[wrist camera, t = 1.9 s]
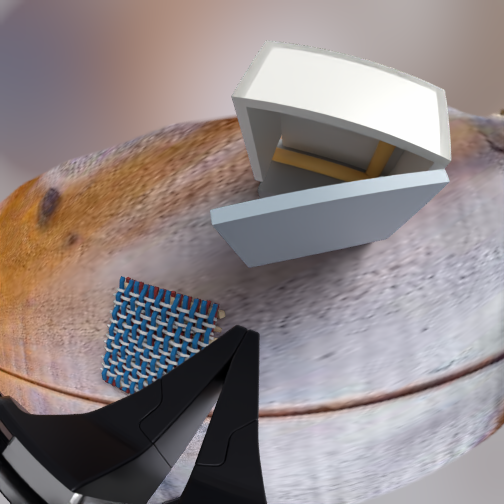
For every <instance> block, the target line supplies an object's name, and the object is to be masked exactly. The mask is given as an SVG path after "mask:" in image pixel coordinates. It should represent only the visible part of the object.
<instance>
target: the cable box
mask: <svg viewBox="0 0 504 504" xmlns="http://www.w3.org/2000/svg"><path fill="white" fill-rule="evenodd" d="M232 100H233V103H234V107H235V110H236V114H237V117H238V121H239V124H240V128H241V131H242V135H243V138H244V142H245V146H246V149H247V153H248V156H249V160H250V164H251V167H252V171H253V175H254V178H255V180H257V181H261V182H260V185H259V187H258V193H259V197H260V199H261V198H266V197H271V196H276V195H281V194H286V193H291V192H296V191H301V190H307V189H312V188H318V187H323V186H329V185H335V184H340V183H346V182H353V181H359V180H365V179H372V178H378V177H385V176H392V175H400V174H407V173H415V172H423V171H432V170H441V169H444V168H445V167H446V166H447V165H448V164H449V163H450V162H451V143H450V129H449V118H448V109H447V101H446V95H445V90H443V89H441V88H439V87H437V86H435V85H433V84H431V83H428V82H426V81H424V80H421V79H419V78H417V77H414V76H412V75H409V74H407V73H404V72H401V71H399V70H396V69H393V68H390V67H388V66H385V65H382V64H378V63H375V62H372V61H369V60H365V59H362V58H358V57H355V56H351V55H347V54H343V53H339V52H335V51H330V50H326V49H321V48H315V47H310V46H305V45H298V44H291V43H284V42H276V41H266V42H265V43H264V45H263V46H262V48H261V50H260V51H259V52H258V54H257V56H256V57H255V59H254V60H253V62H252V63H251V65H250V66H249V68H248V70H247V71H246V73H245V74H244V76H243V78H242V79H241V81H240V83H239V84H238V86H237V88H236V89H235V91H234V93H233V94H232ZM281 135H282V139H280V137H281Z"/></svg>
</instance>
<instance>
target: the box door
mask: <svg viewBox="0 0 504 504" xmlns="http://www.w3.org/2000/svg"><path fill="white" fill-rule="evenodd" d="M449 182H450V181H449V178H448V176H447V174H446V171H445V169H441V170H432V171H423V172H415V173H407V174H400V175H392V176H385V177H378V178H372V179H365V180H359V181H353V182H346V183H340V184H335V185H329V186H323V187H318V188H312V189H307V190H301V191H296V192H291V193H286V194H281V195H276V196H271V197H266V198H261V199H257V200H252V201H247V202H243V203H238V204H234V205H229V206H225V207H221V208H216V209H212V210H210V213H211V221H212V226H213V227H214V228H215V229H216V230H217V231H218V233H219V234H220V235H221V236H222V237H223V238H224V240H225V241H226V242H227V243H228V244H229V245H230V247H231V248H232V249H233V250H234V251H235V252H236V254H237V255H238V256H239V257H240V258H241V259H242V260H243V262H244V263H245V264H246V265H247V266H248V267H249V268H250V267H255V266H260V265H265V264H270V263H275V262H280V261H285V260H290V259H295V258H300V257H305V256H309V255H314V254H319V253H324V252H329V251H333V250H338V249H343V248H347V247H352V246H357V245H361V244H366V243H371V242H375V241H380V240H384V239H387V238H388V237H390V236H391V235H392V234H393V233H394V232H395V231H397V230H398V229H399V228H400V227H401V226H402V225H403V224H405V223H406V222H407V221H408V220H409V219H410V218H411V217H412V216H414V215H415V214H416V213H417V212H418V211H419V210H420V209H421V208H422V207H424V206H425V205H426V204H427V203H428V202H429V201H430V200H431V199H432V198H433V197H434V196H435V195H436V194H437V193H438V192H440V191H441V190H442V189H443V188H444V187H445V186H446V185H447V184H448V183H449Z"/></svg>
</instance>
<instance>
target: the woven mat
mask: <svg viewBox="0 0 504 504" xmlns="http://www.w3.org/2000/svg"><path fill="white" fill-rule="evenodd" d="M124 281H125V277H122V276H121V278H120V286H119V288H118V287H117V289H116V290H117V291H118V292H117V294H115V293H114V295H113V296H116V300H114V301H113V303H115V304H114V307H115V308H114V310H113V311H112V310H110V313H112V317H113V319H112V318H110V321H111V322H112V323H111V325H109V324H108V325H107V327H110V328H109V335H108V334H106V336H107V337H108V340H104V342H105V343H106V344H107V347H105V346H104V349H105V350H106V351H107V352H106V354H105V356H101V358H104V362H105V364H104V363H103V362H102V363H101V364H102V365H103V366H104V368H100V370H103V371H102V378H103V380H105V382H107V383H110V384H112V385H113V386H116V387H118V388H119V389H121V390H123V391H125V392H126V393H130V394H133V393H135V392H137V391H139V390H141V389H142V388H144V387H146V386H148V385H149V384H151V383H152V382H154V381H155V380H156V378H157V379H159V378H161V377H162V376H163V375H165V374H166V370H167V373H168V372H169V371H171V370H172V369H174V368H175V367H177V365H180V364H181V363H183V362H184V361H186V360H187V359H189V358H190V357H192V356H193V355H195V354H196V353H197V352H199V351H200V350H202V349H203V348H205V347H206V346H208V345H209V344H210V343H212V342H213V341H215V340H216V339H217V338H214V337H213V336H214V333H213V331H215V332H221V331H222V328H220V327H217V326H216V325H215V322H217V318H219V319H221V318H224V317H226V316H225V312H224V311H222V310H218V308H219V304H217V303H214V304H213V306H212V308H210V307H209V306H210V303H211V301H208V300H207V301H204V300H202V304H201V299H198V298H197V299H196V298H195V299H194V302H191V301H192V297H190V296H186V295H184V298H183V295H182V294H179V293H177V294H176V292H175V291H168V290H165V289H160V290H159V287H156V286H155V287H154V286H151V285H148V284H144V283H143V282H138V281H136V280H133V279H132V280H131V278H129V277H127V278H126V282H124ZM143 285H144V287H143ZM158 291H159V293H158ZM170 295H171V296H170ZM136 299H137V300H136ZM182 299H183V300H182ZM164 302H165V303H164ZM200 304H201V305H200ZM180 307H182V308H180ZM130 309H131V310H130ZM179 311H181V312H180V314H179ZM198 312H200V314H199V313H198ZM207 314H208V315H209V316H207ZM197 316H198V317H199V318H198V319H197ZM216 317H217V318H216ZM156 318H157V319H156ZM169 318H170V319H169ZM206 319H208V323H207V322H206ZM124 320H125V321H124ZM177 321H178V322H177ZM150 325H151V326H150ZM176 325H178V326H176ZM195 326H197V328H196V327H195ZM149 329H150V330H149ZM204 329H206V330H204ZM166 330H167V331H166ZM165 334H167V335H165ZM184 336H185V337H184ZM182 339H183V340H184V342H183V341H182ZM155 340H156V341H155ZM191 342H192V344H191ZM200 345H201V346H203V347H202V348H201V347H200ZM180 348H181V350H182V353H181V352H180ZM189 351H191V354H190V355H188V352H189ZM153 353H154V354H153ZM161 354H162V355H161ZM169 357H170V360H169ZM177 361H178V362H177Z"/></svg>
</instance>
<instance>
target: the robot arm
mask: <svg viewBox="0 0 504 504" xmlns="http://www.w3.org/2000/svg"><path fill="white" fill-rule="evenodd" d="M259 340H260V335H259V333H258V332H256V331H253V330H248V329H247V328H245V327H242V326H239V325H236V326H234V327H233V328H231V329H230V330H229V331H227V332H226V333H224V334H223V335H222V336H220V337H219V338H217V339H216V340H215V341H213V342H212V343H210V344H209V345H208V346H206V347H205V348H203V349H202V350H200V351H199V352H197V353H196V354H195V355H193V356H192V357H190V358H189V359H187V360H186V361H184V362H183V363H181V364H180V365H178V366H177V367H175V368H174V369H172V370H171V371H169V372H168V373H166V374H165V375H163V376H162V377H161V378H159V379H157V380H155V381H154V382H152V383H151V384H149V385H148V386H146V387H144V388H142V389H141V390H139V391H137V392H135V393H133V394H131V395H129V396H127V397H125V398H123V399H120V400H118V401H116V402H114V403H111V404H109V405H107V406H105V407H102V408H100V409H98V410H95V411H92V412H89V413H84V414H70V415H34V414H30V413H29V412H28V411H27V410H26V409H24V408H23V407H22V406H21V405H20V404H19V403H18V402H17V401H16V400H14V399H13V398H12V397H10V396H3V394H2V393H1V392H0V492H1V493H2V494H3V496H4V497H5V498H6V499H7V500H8V501H9V502H10V504H125V503H126V504H146V503H147V502H148V500H149V499H150V498H151V496H152V495H153V494H154V492H155V491H156V490H157V488H158V487H159V485H160V484H161V483H162V481H163V480H164V479H165V477H166V476H167V474H168V473H169V472H170V470H171V468H172V467H173V466H174V464H175V463H176V461H177V460H178V459H179V457H180V456H181V454H182V453H183V451H184V450H185V448H186V447H187V445H188V444H189V442H190V441H191V440H192V438H193V437H194V435H195V434H196V432H197V431H198V429H199V427H200V426H201V424H202V423H203V421H204V420H205V418H206V417H207V415H208V414H209V412H210V411H211V409H212V407H213V406H214V404H215V403H216V401H217V400H218V401H217V403H216V406H215V409H214V412H213V415H212V418H211V420H210V423H209V426H208V429H207V432H206V434H205V437H204V440H203V443H202V446H201V448H200V451H199V454H198V457H197V459H196V462H195V466H194V468H193V470H192V473H191V475H190V478H189V480H188V482H187V484H186V487H185V489H184V491H183V493H182V495H181V497H179V498H177V499H174V500H171V501H168V502H165V503H162V504H267V501H266V496H265V490H264V484H263V477H262V470H261V463H260V454H259V442H258V413H259Z"/></svg>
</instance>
